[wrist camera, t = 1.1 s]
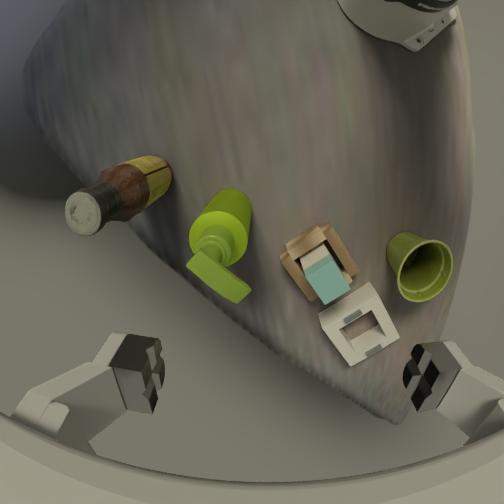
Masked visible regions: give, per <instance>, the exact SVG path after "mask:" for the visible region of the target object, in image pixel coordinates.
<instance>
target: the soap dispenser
mask: <svg viewBox="0 0 504 504" xmlns="http://www.w3.org/2000/svg"><path fill="white" fill-rule="evenodd" d="M251 212H252V207H251V203H250V201H249V199H248V197H247V196H246V195H245V194H244V193H242V192H240V191H238V190H235V189H226V190H223V191H221V192H219V193H218V194H216V195H215V197H214V198H213V199H212V200H211V202H210V203H209V204H208V205H207V207H206V208H205V209H204V210H203V212H202V213H201V214H200V215H199V217H198V218H197V219H196V220H195V222H194V223H193V225H192V227H191V229H190V233H189V243H190V247H191V249H192V251H193V253H194V256H193V257H192V258H191V259H190V260H189V261H188V262H187V264H186V267H187V268H188V269H190V270H191V271H192V272H193V273H194V274H195V275H196V276H198V277H199V278H200V279H201V280H202V281H203V282H205V283H206V284H207V285H208V286H210V287H211V288H212V289H213V290H215V291H216V292H218V293H219V294H220V295H222V296H224V297H225V298H227V299H228V300H230V301H232V302H234V303H236V304H238V303H239V302H240V301H241V300H242V299H243V298H244V297H245V296H247V295H248V294H249V293H250V292H251V291H252V290H251V288H250V287H249V285H248V284H246V283H245V282H243V281H242V280H240V279H239V278H238V277H236V276H235V275H234V274H232V273H231V272H230V271H229V270H227V269H226V268H225V267H226V266H229V265H232V264H234V263H235V262H237V261H238V260H239V259H240V258H241V257H242V256H243V254H244V253H245V251H246V248H247V243H248V235H249V228H250V220H251Z"/></svg>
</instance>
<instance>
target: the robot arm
mask: <svg viewBox="0 0 504 504" xmlns="http://www.w3.org/2000/svg"><path fill="white" fill-rule="evenodd" d="M338 2H339V4H340V6H341V8H342V10H343V11H344V12H345V14H346V15H347V16H348V17H349V18H350V20H351V21H352V22H354V23H355V24H356V25H357V26H358V27H360V28H361V29H362V30H364V31H366V32H367V33H369V34H371V35H373V36H375V37H378V38H380V39H383V40H387V41H392V42H396V43H399V44H401V45H402V46H404V47H406V48H407V49H409V50H411V51H413V52H417V51H419V50H420V49H421V48H423V47H424V46H425V45H426V44H427V43H428V42H429V41H430V40H431V39H433V38H434V37H435V36H436V35H437V34H438V33H439V32H441V31H442V30H443V29H444V28H445V27H446V26H447V25H449V24H450V23H451V22H452V21H453V20H454V19H455V18H456V17H457V14H456V10H455V6H456V5H457V4H458V3H459V0H338ZM417 40H418V41H419V42H417ZM161 351H162V346H161V341H160V340H159V339H158V338H152V337H145V336H139V335H133V334H126V333H121V332H113V333H111V335H110V336H109V338H108V339H107V341H106V342H105V344H104V345H103V347H102V348H101V350H100V351H99V353H98V354H97V356H96V357H95V359H94V360H93V362H92V363H90V362H87V363H84V364H83V365H80V366H78V367H76V368H74V369H72V370H70V371H68V372H66V373H64V374H62V375H60V376H58V377H55V378H53V379H51V380H49V381H47V382H45V383H43V384H41V385H38V386H36V387H34V388H32V389H30V390H29V391H28V392H27V394H26V395H25V396H24V398H23V399H22V401H21V402H20V403H19V405H18V406H17V408H16V409H15V411H14V412H13V414H12V415H11V416H10V417H8V416H7V415H5V414H3V413H1V412H0V504H504V380H502V379H500V378H498V377H496V376H494V375H493V374H491V373H489V372H487V371H485V370H483V369H481V368H479V367H477V366H473V365H472V364H471V363H470V361H469V360H468V359H467V358H466V356H465V355H464V354H463V352H461V350H460V349H459V347H458V346H457V345H456V344H455V343H454V341H452V340H445V341H439V342H432V343H423V344H416V345H415V346H414V347H413V349H412V351H411V357H412V359H411V360H410V361H409V362H408V363H406V365H405V368H404V370H403V384H404V386H405V388H406V390H408V391H409V392H411V393H412V396H411V400H412V402H413V404H414V406H415V408H416V411H417V412H422V411H427V410H432V409H437V410H438V411H439V412H440V413H441V414H442V415H444V416H445V417H446V418H447V419H448V420H450V421H451V422H452V423H453V424H455V425H456V426H457V427H458V428H459V429H460V430H462V431H463V432H464V433H465V434H466V435H468V436H469V437H470V438H469V439H468V441H467V442H466V443H465V444H464V446H463V447H461V448H459V449H456V450H453V451H450V452H447V453H445V454H442V455H439V456H436V457H432V458H429V459H426V460H423V461H419V462H416V463H412V464H408V465H405V466H401V467H396V468H392V469H388V470H383V471H378V472H373V473H367V474H362V475H355V476H349V477H341V478H333V479H324V480H313V481H297V482H241V481H225V480H213V479H205V478H197V477H189V476H182V475H176V474H171V473H165V472H160V471H155V470H150V469H145V468H141V467H137V466H133V465H129V464H125V463H122V462H118V461H115V460H111V459H108V458H104V457H101V456H98V455H96V453H95V451H94V450H93V449H92V447H91V445H90V444H89V442H88V441H89V440H90V439H92V438H93V437H94V436H95V435H97V434H98V433H99V432H101V431H102V430H103V429H104V428H106V427H107V426H108V425H110V424H111V423H112V422H113V421H115V420H116V419H117V418H119V417H120V416H121V415H122V414H124V413H125V412H126V411H127V410H131V411H137V412H142V413H149V414H153V412H154V409H155V406H156V403H157V400H158V396H157V391H158V390H160V389H161V388H162V385H163V382H164V376H165V364H164V360H163V359H162V358H161V357H160V353H161Z"/></svg>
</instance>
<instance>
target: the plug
mask: <svg viewBox="0 0 504 504" xmlns="http://www.w3.org/2000/svg"><path fill="white" fill-rule="evenodd" d="M299 258H300V261H301V264H302V267H303V271H304V274H305V277H306V279H307V280H308V282H309V283H310V284H311V286H312V287H313V289H314V290H315V291H316V293H317V294H318V296H319V297H320V299H321V300H322V301H323V303H324V304H325V305H326V304H327V303H329V302H331V301H332V300H334V299H336V298H337V297H339V296H341V295H342V294H344V293H345V292H347V291H349V290H350V289H351V288H350V286H349V284H348V283H347V281H346V279H345V277H344V275H343V274H342V272H341V270H340V268H339V267H338V265H337V263H336V262H335V260H334V258H333V257H332V255H331V254H330V252H329V250H328V249H327V247H326V246H325V244H324V243H323V242H321V243H320V244H318V245H317V246H315V247H314V248H312V249H311V250H309V251H307V252H306V253H304V254H303V255H301V256H300V257H299Z"/></svg>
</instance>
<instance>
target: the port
mask: <svg viewBox="0 0 504 504" xmlns="http://www.w3.org/2000/svg"><path fill="white" fill-rule="evenodd" d="M370 310H372V312H373V313H374V315H375V317H376V319H377V320H378V322H379V324H378V325H376V326H374V327H373V328H371V329H370V330H368V331H366V332H365V333H363V334H361V335H360V336H358V337H356V338H354V339H353V340H350V339H349V337H348V336H347V334H346V333H345V331H344V330H343V329H342V327H344V326H346V325H347V324H349V323H351V322H352V321H354V320H356V319H357V318H359V317H361V316H362V315H364V314H365V313H367V312H369V311H370ZM318 316H319V320H320V323H321V327H322V329H323V330H324V331H325V333H326V334H327V335H328V337H329V338H330V340H331V341H332V342H333V344H334V345H335V346H336V348H337V349H338V350H339V352H340V353H341V354H342V356H343V357H344V359H345V360H346V361H347V363H348V364H349V365H350V367H351V366H353V365H355V364H356V363H358V362H360V361H362V360H363V359H365V358H367V357H369V356H370V355H372V354H374V353H376V352H377V351H379V350H381V349H382V348H384V347H386V346H387V345H389V344H390V343H392V342H394V341H395V340H397V339H398V338H400V337H399V335H398V333H397V331H396V329H395V327H394V325H393V323H392V321H391V319H390V317H389V315H388V313H387V311H386V309H385V307H384V305H383V303H382V301H381V299H380V297H379V296H378V294H377V292H376V291H375V289H374V288H373V286H372V285H371V283H370V282H368V283H367V284H365V285H364V286H362V287H361V288H359V289H357V290H356V291H354V292H353V293H351V294H349V295H348V296H346V297H345V298H343V299H341V300H340V301H338V302H337V303H335V304H333V305H332V306H330V307H328V308H327V309H325V310H323V311H322V312H320V313H318Z"/></svg>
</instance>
